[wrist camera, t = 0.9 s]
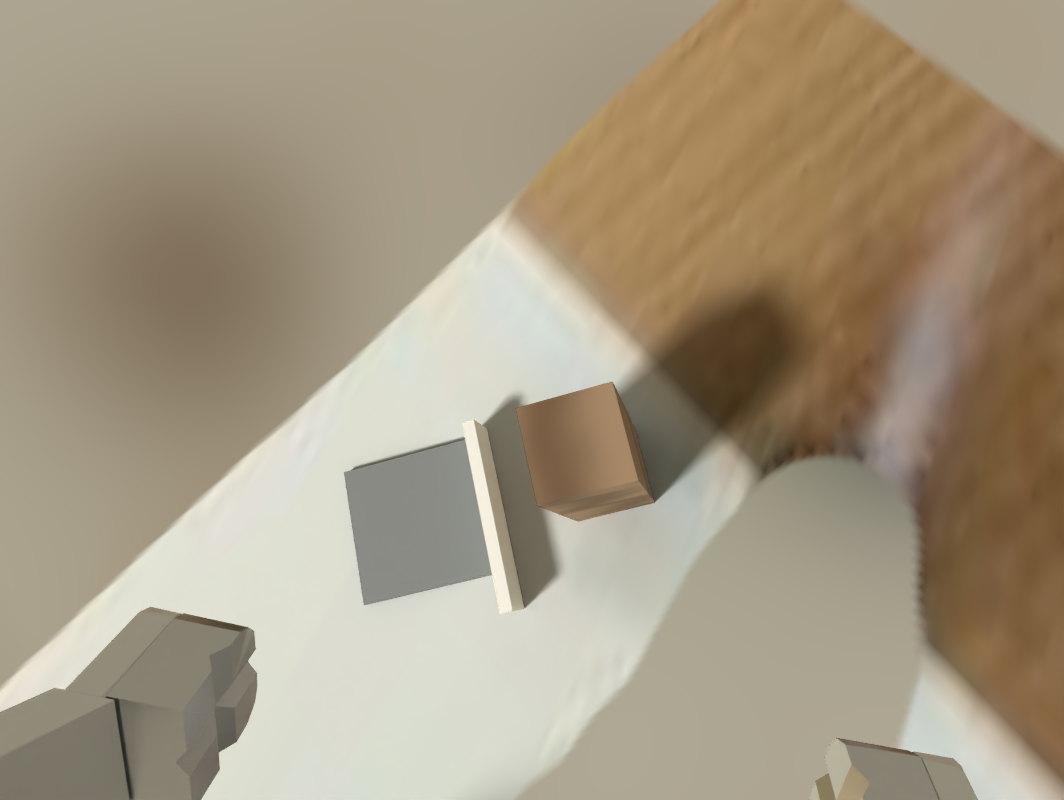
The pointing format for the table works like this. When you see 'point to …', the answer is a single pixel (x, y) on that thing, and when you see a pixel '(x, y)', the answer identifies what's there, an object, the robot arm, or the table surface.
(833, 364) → the table surface
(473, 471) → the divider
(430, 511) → the coaster
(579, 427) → the walnut block
